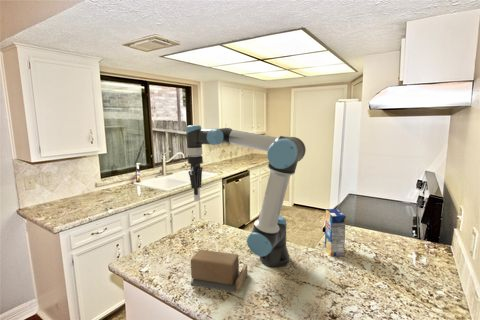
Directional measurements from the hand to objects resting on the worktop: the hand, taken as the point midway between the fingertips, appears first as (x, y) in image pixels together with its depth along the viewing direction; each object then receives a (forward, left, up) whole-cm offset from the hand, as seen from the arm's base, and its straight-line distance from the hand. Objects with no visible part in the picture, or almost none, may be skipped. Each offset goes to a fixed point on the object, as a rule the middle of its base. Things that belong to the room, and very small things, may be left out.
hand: (197, 200), depth 138 cm
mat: (-18, +19, -30) cm, 40 cm away
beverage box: (-70, -20, -30) cm, 79 cm away
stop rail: (-29, +19, -30) cm, 46 cm away
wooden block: (-6, +19, -25) cm, 31 cm away
